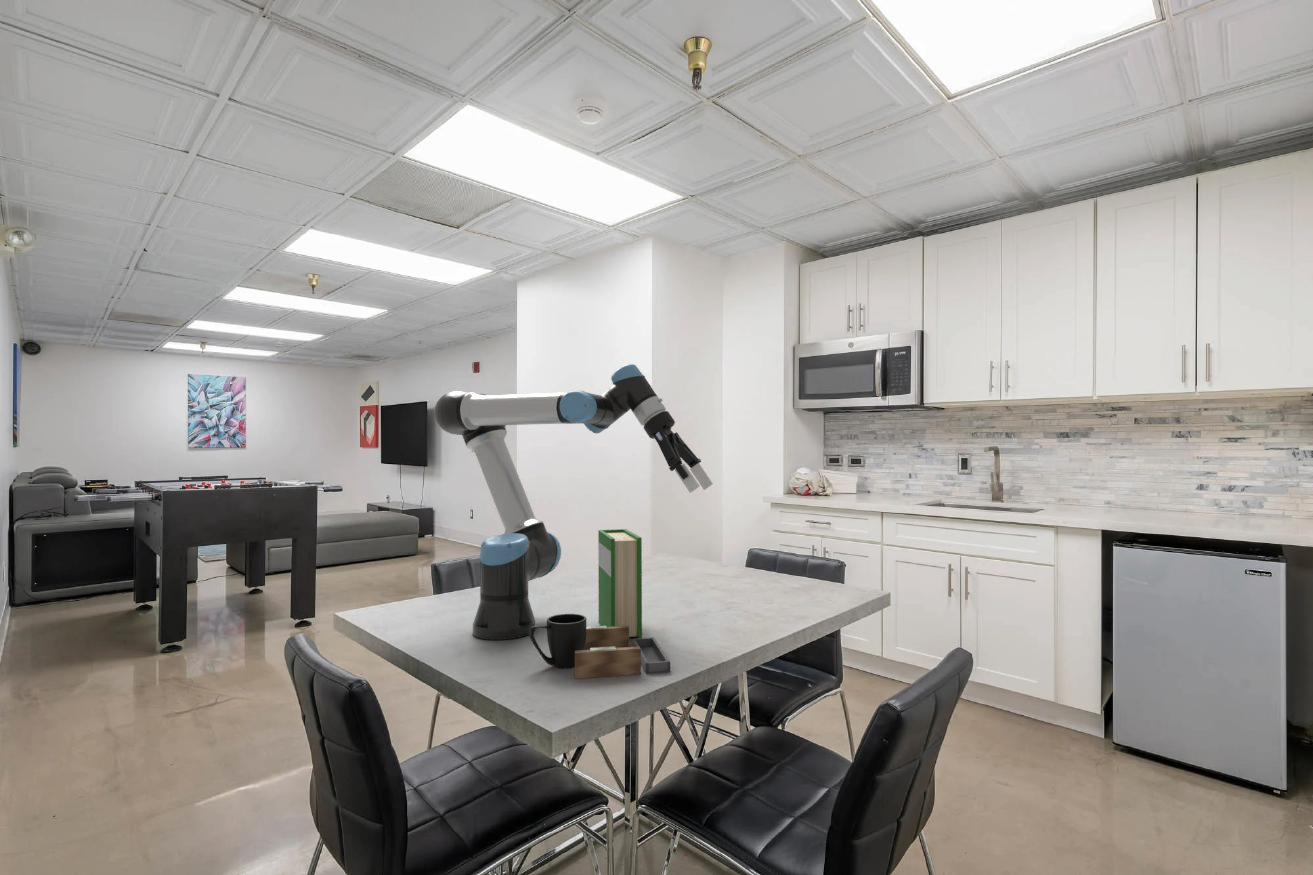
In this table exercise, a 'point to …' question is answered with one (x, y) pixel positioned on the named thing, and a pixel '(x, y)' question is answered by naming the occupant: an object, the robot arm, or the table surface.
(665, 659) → the tray
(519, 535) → the robot arm
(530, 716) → the table surface
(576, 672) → the lane walls
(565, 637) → the mug
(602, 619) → the hardback book
